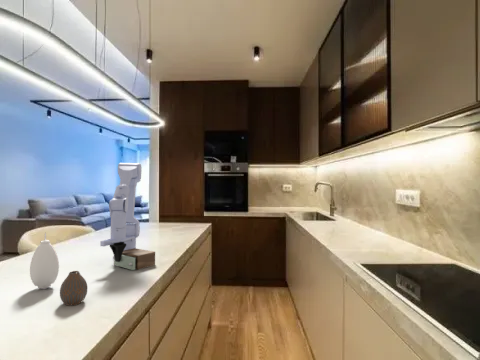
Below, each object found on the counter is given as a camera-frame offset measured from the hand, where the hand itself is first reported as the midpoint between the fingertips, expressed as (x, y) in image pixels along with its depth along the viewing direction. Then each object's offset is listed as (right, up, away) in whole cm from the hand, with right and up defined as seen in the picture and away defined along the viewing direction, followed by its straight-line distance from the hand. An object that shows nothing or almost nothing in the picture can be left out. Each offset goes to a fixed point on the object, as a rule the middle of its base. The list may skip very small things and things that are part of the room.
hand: (117, 261), depth 123 cm
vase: (+2, -2, -37) cm, 37 cm away
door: (+2, -2, 0) cm, 3 cm away
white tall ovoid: (-14, -2, -25) cm, 28 cm away
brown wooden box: (+6, -3, +5) cm, 8 cm away
